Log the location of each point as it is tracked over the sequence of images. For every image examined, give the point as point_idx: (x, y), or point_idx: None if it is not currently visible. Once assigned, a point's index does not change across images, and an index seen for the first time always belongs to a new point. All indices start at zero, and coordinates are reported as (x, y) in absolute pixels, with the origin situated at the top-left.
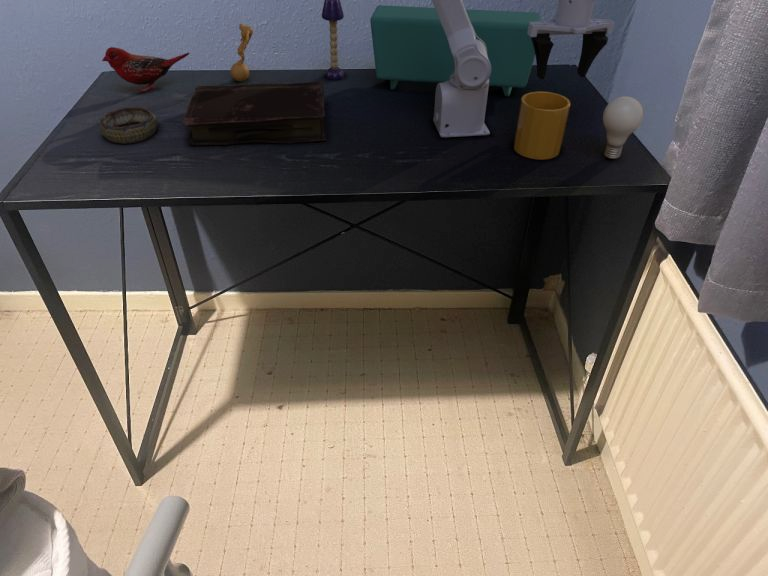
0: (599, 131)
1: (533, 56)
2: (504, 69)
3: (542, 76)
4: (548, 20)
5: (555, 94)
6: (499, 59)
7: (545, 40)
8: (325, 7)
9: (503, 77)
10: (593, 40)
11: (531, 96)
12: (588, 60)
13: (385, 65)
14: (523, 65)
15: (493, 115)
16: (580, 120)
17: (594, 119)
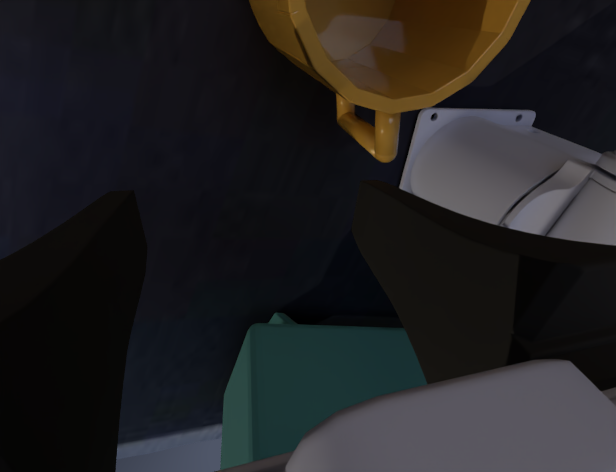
0: (27, 86)
1: (256, 403)
2: (322, 359)
3: (379, 183)
4: None
5: (326, 58)
6: (346, 383)
7: (579, 317)
8: None
9: (315, 341)
10: (7, 399)
11: (422, 89)
12: (88, 238)
13: None
14: (277, 373)
15: (351, 223)
16: (98, 182)
17: (38, 186)
